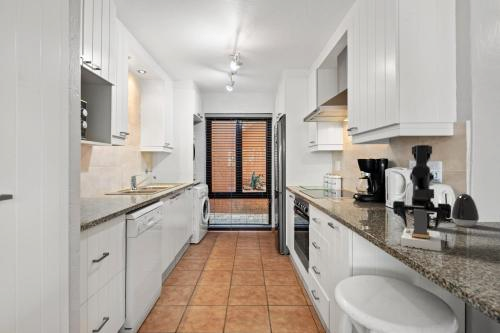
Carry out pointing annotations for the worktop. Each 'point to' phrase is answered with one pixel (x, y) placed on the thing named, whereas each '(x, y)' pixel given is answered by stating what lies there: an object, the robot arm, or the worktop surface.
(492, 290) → the worktop surface
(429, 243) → the socket block
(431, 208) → the robot arm
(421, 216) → the plug
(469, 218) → the black egg-shaped dome
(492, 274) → the worktop surface
